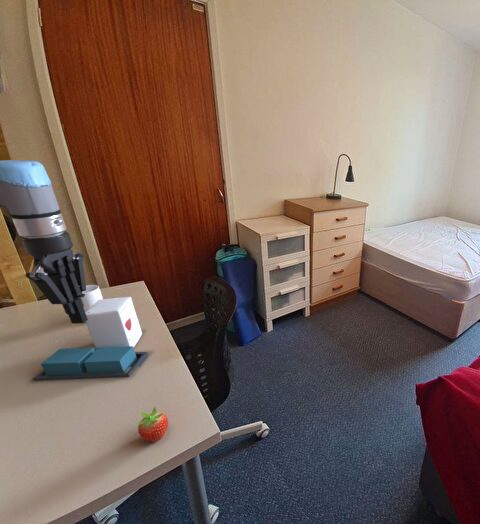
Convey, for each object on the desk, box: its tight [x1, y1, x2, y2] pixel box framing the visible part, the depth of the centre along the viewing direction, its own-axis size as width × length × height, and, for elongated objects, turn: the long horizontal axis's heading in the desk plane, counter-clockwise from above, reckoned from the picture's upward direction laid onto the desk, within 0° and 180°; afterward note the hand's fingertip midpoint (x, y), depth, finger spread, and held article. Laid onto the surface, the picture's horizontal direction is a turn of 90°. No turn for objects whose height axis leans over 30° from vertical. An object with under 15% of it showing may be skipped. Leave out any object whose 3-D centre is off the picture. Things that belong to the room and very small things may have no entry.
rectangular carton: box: [85, 296, 143, 351], centre depth 87 cm, size 9×9×15 cm
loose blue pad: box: [84, 346, 137, 374], centre depth 79 cm, size 9×6×5 cm, turn 96°
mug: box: [81, 284, 104, 312], centre depth 99 cm, size 10×7×12 cm, turn 134°
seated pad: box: [40, 347, 96, 376], centre depth 78 cm, size 9×6×5 cm, turn 95°
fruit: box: [136, 406, 169, 442], centre depth 61 cm, size 5×5×8 cm
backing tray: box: [32, 351, 149, 382], centre depth 80 cm, size 24×9×2 cm, turn 95°
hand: (80, 321), depth 72 cm, fingers closed
